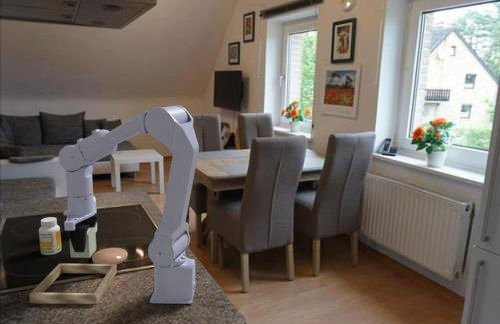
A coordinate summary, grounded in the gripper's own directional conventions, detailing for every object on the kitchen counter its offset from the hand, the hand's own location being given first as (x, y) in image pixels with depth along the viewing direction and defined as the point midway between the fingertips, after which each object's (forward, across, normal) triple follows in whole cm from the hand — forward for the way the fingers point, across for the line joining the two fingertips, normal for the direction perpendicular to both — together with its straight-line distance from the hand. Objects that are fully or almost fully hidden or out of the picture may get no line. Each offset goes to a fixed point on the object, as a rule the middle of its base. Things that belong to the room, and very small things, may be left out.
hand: (83, 247), depth 95 cm
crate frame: (+9, +4, -1) cm, 9 cm away
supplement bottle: (+9, -16, -16) cm, 24 cm away
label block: (+2, 0, 0) cm, 2 cm away
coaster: (+9, -11, +2) cm, 14 cm away
